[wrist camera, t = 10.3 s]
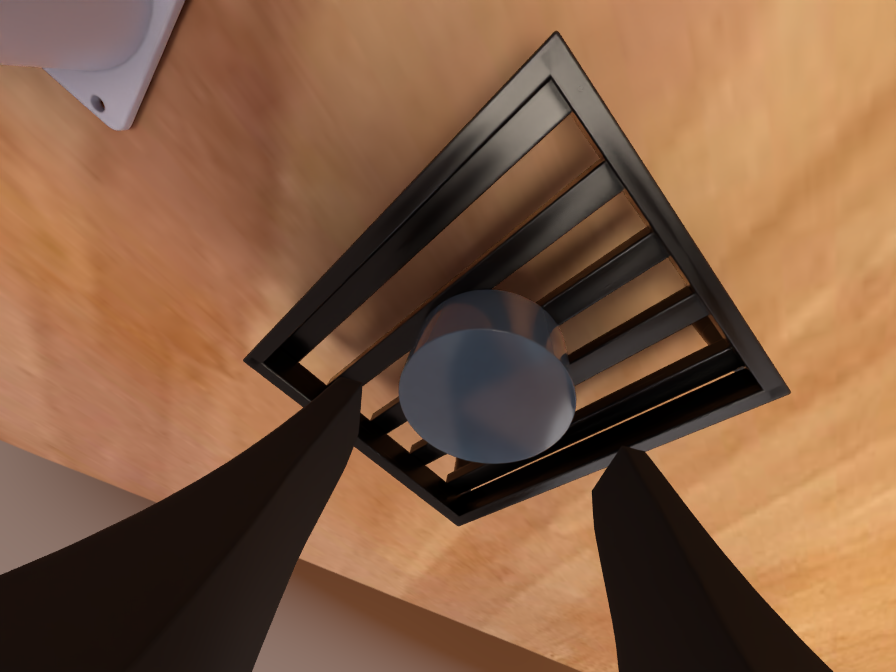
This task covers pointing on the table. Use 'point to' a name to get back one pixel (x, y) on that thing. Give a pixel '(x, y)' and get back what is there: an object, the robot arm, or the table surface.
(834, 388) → the table surface
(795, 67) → the table surface
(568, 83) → the rack
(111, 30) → the robot arm
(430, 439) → the glossy blue puck
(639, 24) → the table surface
